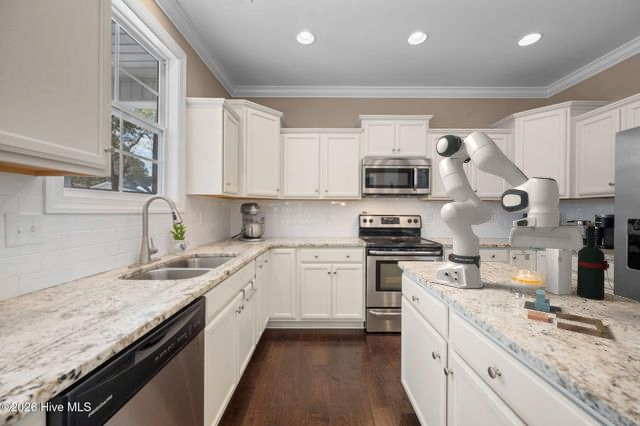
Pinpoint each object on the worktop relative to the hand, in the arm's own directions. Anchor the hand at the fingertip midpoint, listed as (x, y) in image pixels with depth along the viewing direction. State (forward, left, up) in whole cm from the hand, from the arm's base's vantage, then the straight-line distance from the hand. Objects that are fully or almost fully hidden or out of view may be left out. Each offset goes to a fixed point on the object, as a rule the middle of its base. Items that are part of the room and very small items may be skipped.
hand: (543, 260), depth 95 cm
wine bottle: (+16, +30, -17) cm, 38 cm away
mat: (0, 0, -17) cm, 17 cm away
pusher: (0, 0, -17) cm, 17 cm away
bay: (+8, -13, -17) cm, 23 cm away
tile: (-1, -13, -18) cm, 22 cm away
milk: (+5, +29, -17) cm, 34 cm away
